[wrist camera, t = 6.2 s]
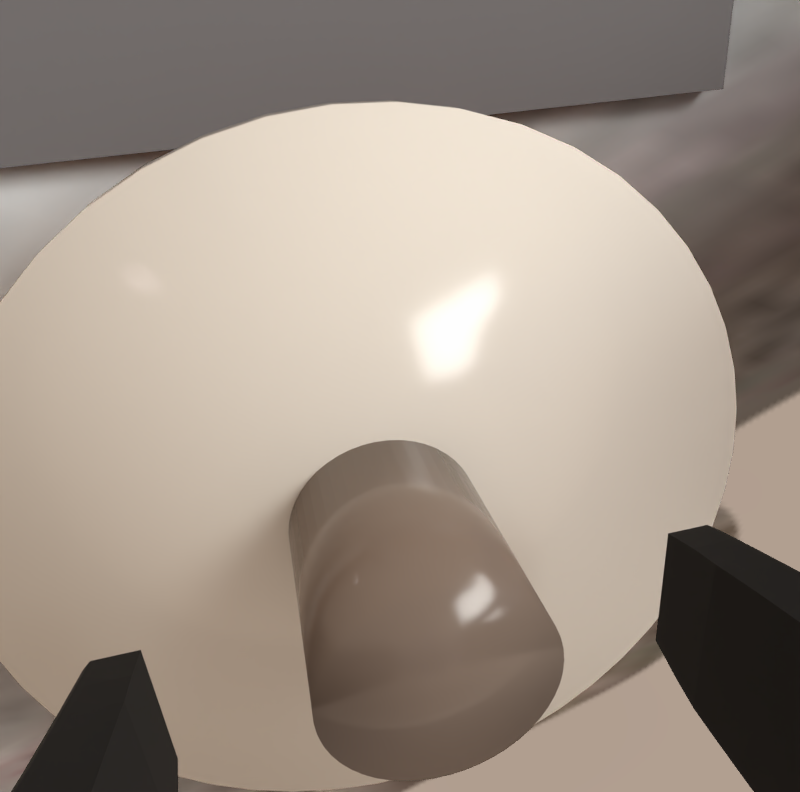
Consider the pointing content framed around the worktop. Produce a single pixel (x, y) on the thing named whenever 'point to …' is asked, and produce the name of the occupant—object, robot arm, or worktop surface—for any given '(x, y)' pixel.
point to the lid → (354, 439)
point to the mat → (326, 62)
